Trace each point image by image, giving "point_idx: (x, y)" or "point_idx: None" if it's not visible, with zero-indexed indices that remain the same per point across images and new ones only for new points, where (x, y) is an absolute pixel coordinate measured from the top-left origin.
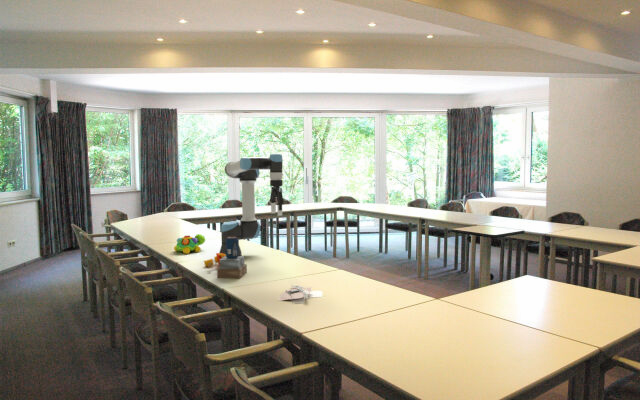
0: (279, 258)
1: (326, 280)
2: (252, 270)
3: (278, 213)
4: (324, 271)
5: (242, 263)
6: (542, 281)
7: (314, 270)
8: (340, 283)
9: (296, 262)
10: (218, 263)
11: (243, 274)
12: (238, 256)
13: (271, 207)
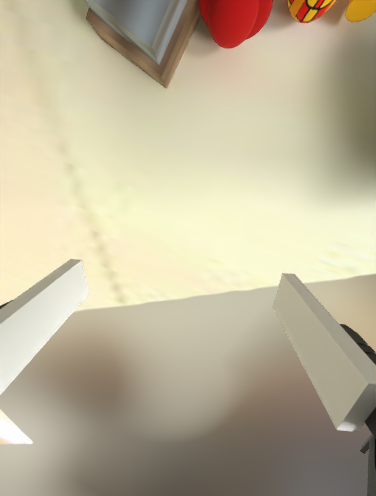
0: (292, 244)
1: (44, 254)
2: (190, 118)
3: (56, 275)
4: (117, 280)
5: (135, 42)
6: (10, 439)
7: (132, 267)
8: (19, 267)
9: (224, 264)
10: None
11: (135, 63)
12: (157, 12)
13: (315, 316)
